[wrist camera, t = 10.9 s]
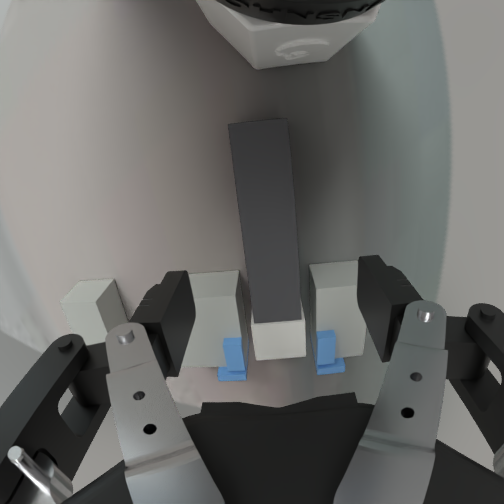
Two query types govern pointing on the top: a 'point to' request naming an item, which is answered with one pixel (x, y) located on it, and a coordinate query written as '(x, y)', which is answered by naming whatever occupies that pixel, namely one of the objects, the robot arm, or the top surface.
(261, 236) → the tall dark pillar
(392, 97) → the top surface
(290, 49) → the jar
